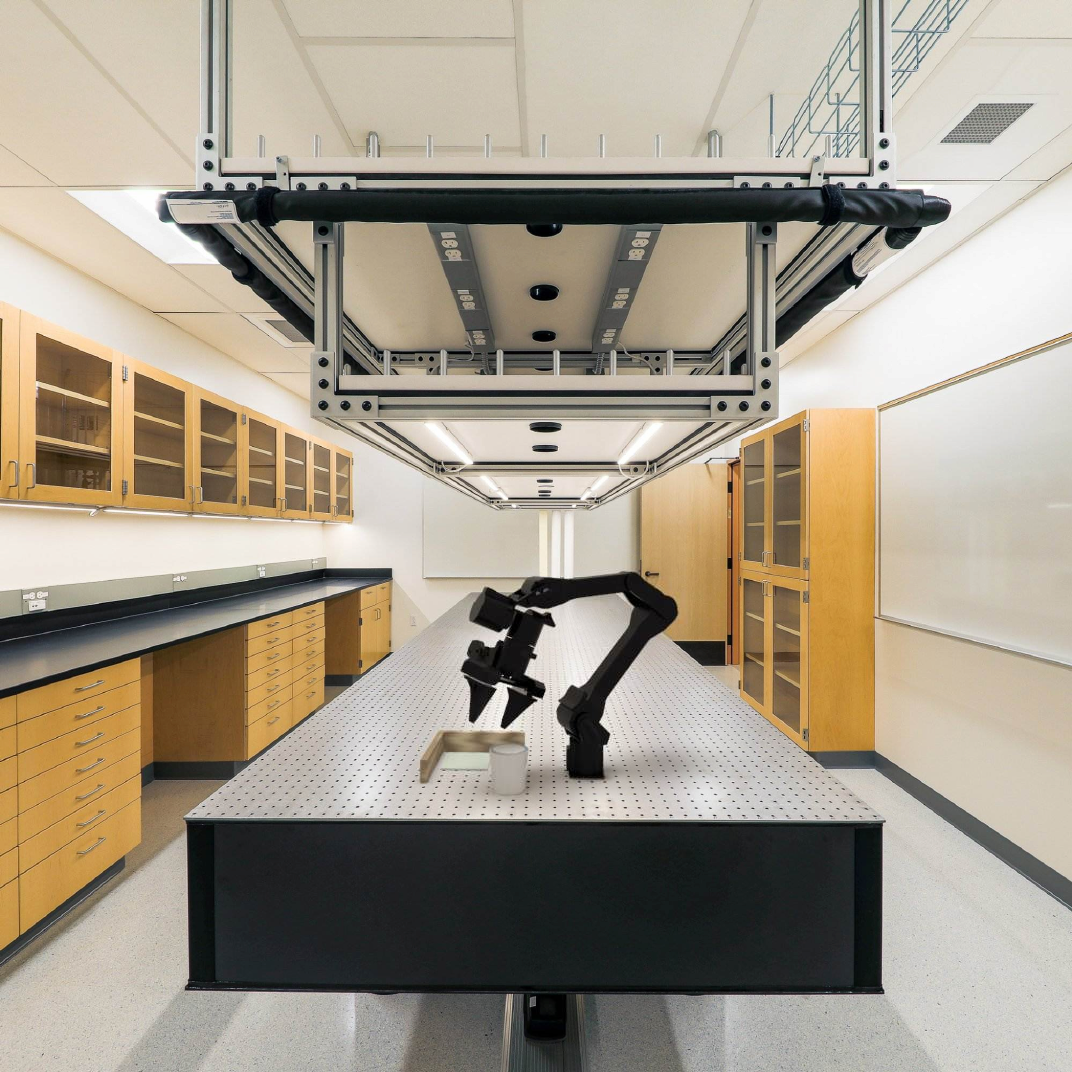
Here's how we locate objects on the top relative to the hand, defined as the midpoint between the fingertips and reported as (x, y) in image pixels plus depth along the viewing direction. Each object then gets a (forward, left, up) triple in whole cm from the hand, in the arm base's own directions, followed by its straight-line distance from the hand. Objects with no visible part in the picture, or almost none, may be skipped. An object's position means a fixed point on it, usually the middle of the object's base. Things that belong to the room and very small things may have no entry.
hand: (487, 725), depth 105 cm
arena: (+3, -10, -11) cm, 15 cm away
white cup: (-4, +1, -11) cm, 12 cm away
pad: (+5, -12, -11) cm, 17 cm away
